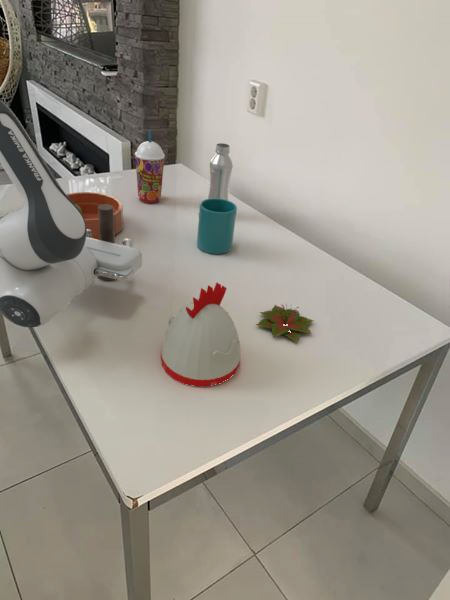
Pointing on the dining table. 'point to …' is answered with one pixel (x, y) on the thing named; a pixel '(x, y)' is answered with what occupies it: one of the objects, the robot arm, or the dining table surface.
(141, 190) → the smoothie
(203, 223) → the cup
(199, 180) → the dining table surface
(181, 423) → the dining table surface
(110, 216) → the masher
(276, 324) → the green leafy plant
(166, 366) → the kitchen timer
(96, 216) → the bowl
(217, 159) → the silver bottle
